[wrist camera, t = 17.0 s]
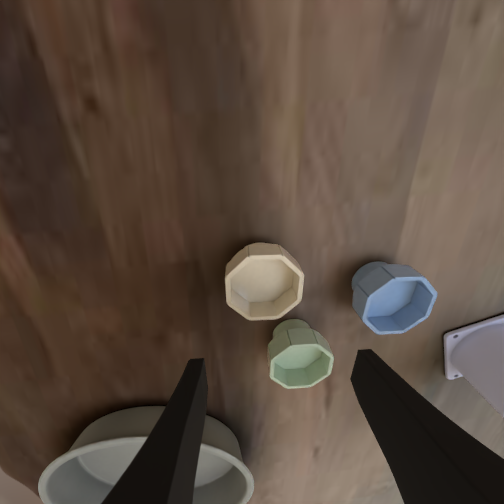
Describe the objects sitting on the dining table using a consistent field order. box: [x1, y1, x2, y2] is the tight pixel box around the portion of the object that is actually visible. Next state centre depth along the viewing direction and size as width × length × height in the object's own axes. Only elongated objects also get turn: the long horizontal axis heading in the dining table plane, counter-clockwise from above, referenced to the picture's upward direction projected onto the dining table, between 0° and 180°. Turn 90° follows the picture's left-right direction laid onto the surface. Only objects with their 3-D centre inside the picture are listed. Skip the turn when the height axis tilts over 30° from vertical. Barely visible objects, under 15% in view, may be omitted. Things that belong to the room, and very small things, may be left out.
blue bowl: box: [352, 261, 437, 335], centre depth 20 cm, size 6×6×4 cm
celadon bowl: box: [267, 319, 334, 389], centre depth 22 cm, size 6×6×4 cm
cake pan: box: [38, 406, 254, 504], centre depth 30 cm, size 25×25×4 cm
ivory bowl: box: [225, 242, 304, 320], centre depth 19 cm, size 6×6×4 cm
